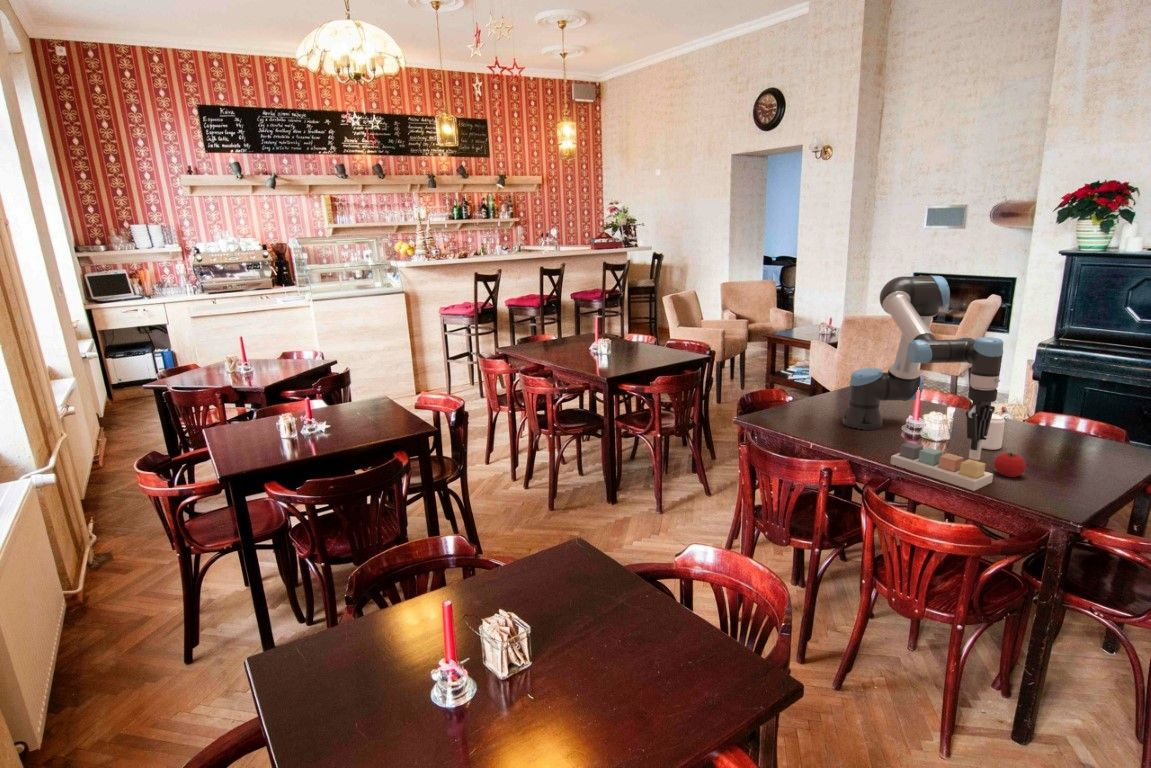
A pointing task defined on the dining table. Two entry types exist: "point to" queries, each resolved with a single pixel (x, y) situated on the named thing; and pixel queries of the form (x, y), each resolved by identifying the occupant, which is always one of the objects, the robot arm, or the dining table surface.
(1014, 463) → the tomato
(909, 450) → the key
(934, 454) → the key
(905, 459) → the keypad
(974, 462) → the key
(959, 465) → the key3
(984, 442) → the beverage can
